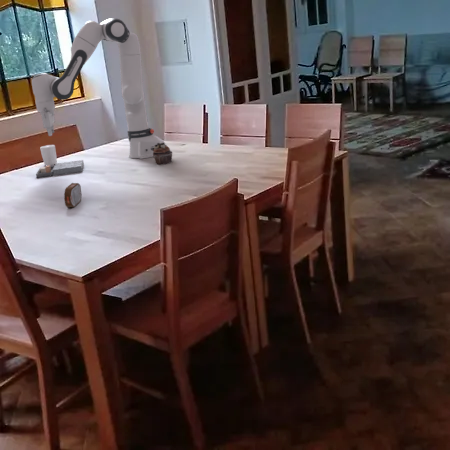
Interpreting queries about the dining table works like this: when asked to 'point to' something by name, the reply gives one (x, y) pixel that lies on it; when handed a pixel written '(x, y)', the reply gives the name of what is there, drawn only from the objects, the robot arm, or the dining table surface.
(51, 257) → the dining table surface
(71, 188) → the tin
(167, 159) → the cupcake
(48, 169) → the tile terracotta
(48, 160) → the white cup
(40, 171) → the tile cream
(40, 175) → the box
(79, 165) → the far plate
